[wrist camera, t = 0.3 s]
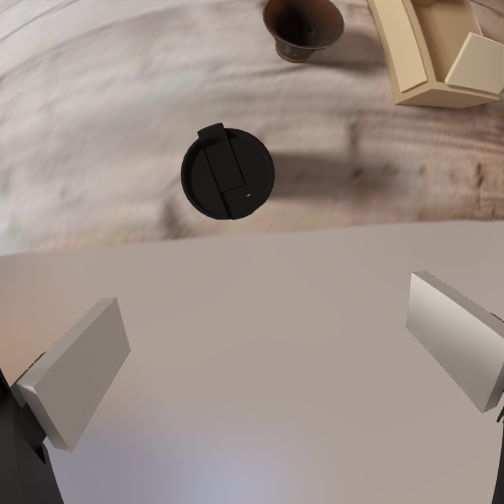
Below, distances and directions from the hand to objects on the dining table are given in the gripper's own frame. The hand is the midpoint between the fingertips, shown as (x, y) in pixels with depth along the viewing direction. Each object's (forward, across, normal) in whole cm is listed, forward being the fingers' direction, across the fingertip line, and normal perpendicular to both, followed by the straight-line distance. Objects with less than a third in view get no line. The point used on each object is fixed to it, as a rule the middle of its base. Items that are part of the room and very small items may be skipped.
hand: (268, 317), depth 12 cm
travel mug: (+28, -2, +6) cm, 29 cm away
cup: (+28, +7, +24) cm, 37 cm away
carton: (+28, +27, +26) cm, 47 cm away
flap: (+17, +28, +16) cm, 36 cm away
